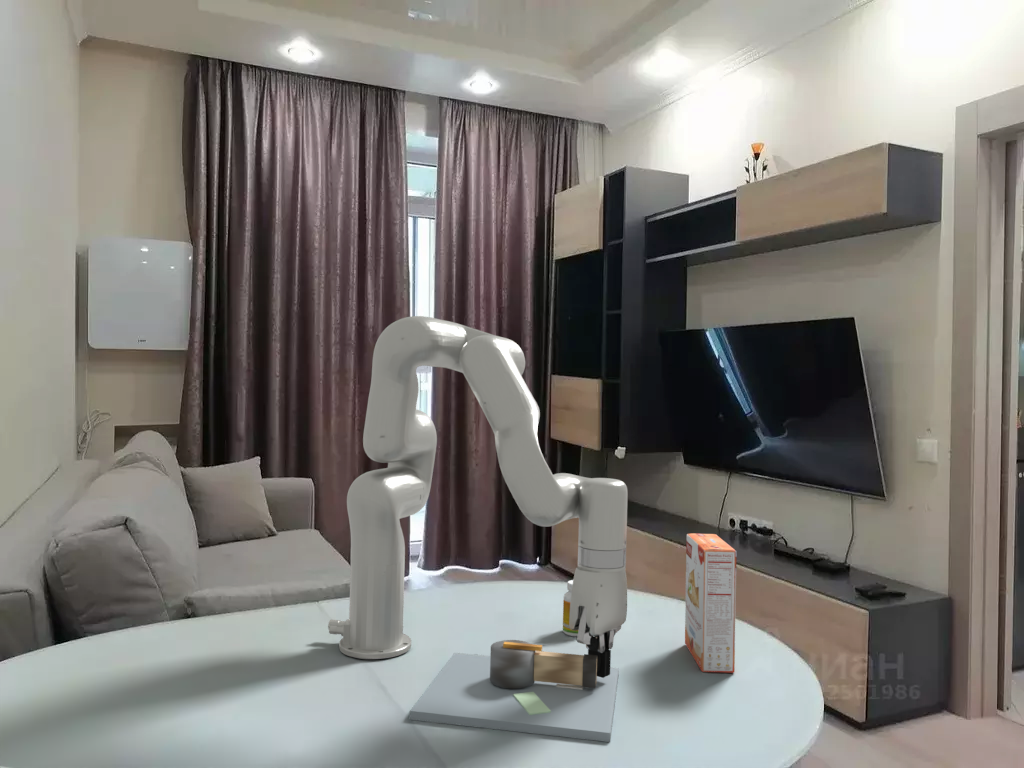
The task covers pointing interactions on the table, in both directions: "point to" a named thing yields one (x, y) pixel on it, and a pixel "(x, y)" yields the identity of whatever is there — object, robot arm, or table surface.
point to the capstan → (538, 666)
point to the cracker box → (710, 602)
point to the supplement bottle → (568, 611)
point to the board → (517, 702)
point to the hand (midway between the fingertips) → (598, 674)
